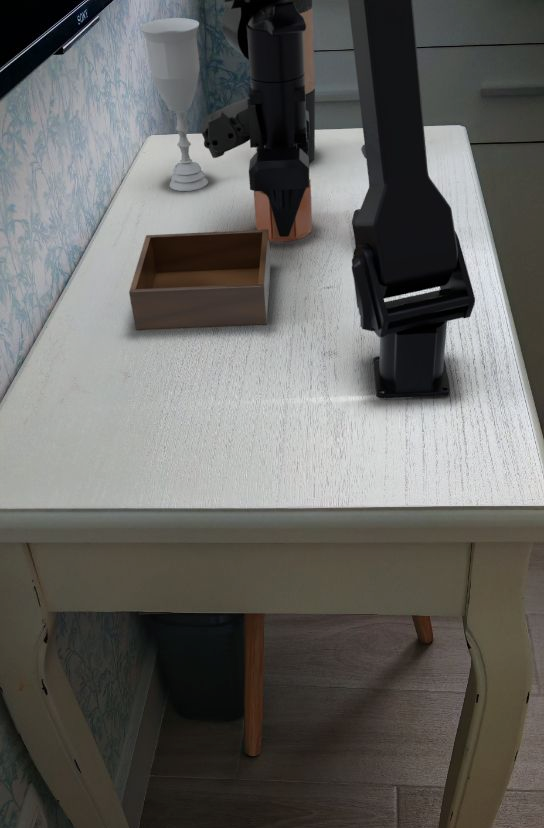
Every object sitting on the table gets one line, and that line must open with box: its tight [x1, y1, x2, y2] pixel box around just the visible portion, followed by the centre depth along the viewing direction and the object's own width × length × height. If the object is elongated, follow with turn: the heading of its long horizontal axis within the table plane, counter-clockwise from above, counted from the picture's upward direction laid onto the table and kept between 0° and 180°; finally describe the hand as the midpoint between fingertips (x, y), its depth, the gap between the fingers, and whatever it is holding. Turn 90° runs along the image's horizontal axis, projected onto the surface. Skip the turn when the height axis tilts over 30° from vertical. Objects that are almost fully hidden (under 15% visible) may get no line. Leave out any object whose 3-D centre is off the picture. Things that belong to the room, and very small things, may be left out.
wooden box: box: [128, 229, 272, 331], centre depth 95 cm, size 13×13×4 cm
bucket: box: [253, 178, 313, 242], centre depth 105 cm, size 6×6×6 cm
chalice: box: [139, 17, 209, 192], centre depth 114 cm, size 7×7×18 cm
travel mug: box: [282, 0, 316, 164], centre depth 117 cm, size 8×8×20 cm
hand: (284, 223), depth 106 cm, fingers closed on bucket, 6 cm apart
